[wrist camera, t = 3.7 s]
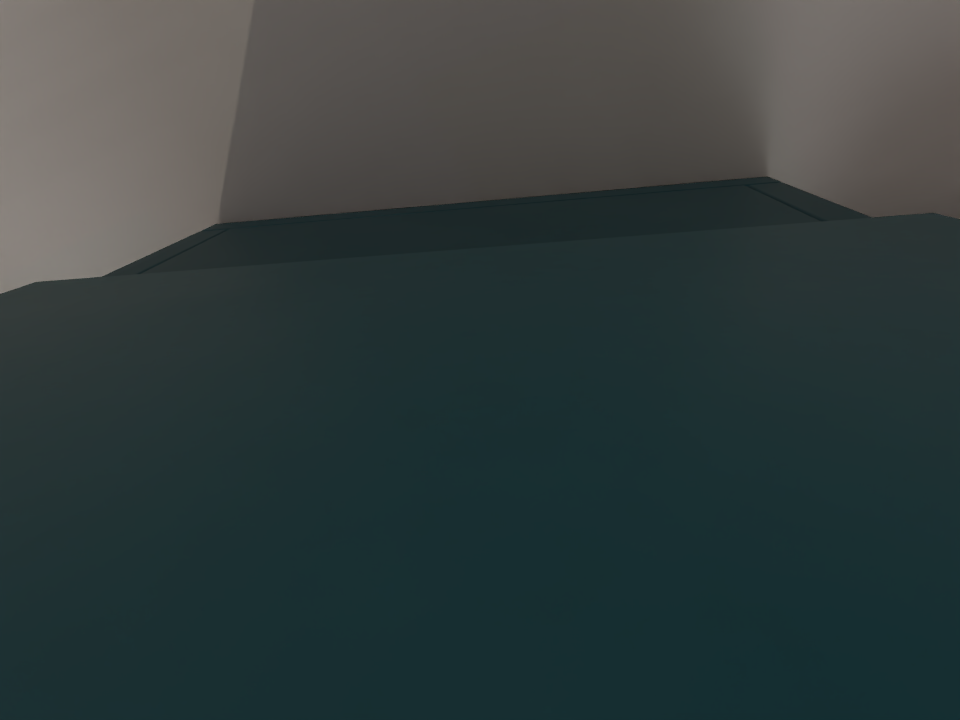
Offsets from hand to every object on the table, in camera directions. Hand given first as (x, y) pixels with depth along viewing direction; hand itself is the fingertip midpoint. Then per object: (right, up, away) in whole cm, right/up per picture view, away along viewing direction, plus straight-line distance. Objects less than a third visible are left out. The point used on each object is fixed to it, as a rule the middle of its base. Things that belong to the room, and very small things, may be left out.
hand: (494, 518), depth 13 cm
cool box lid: (-1, +2, -10) cm, 11 cm away
